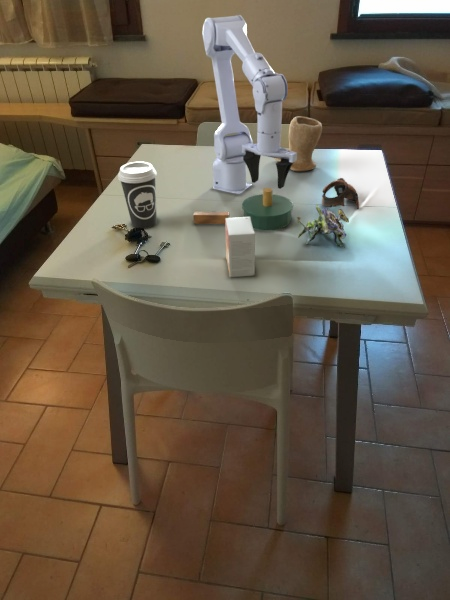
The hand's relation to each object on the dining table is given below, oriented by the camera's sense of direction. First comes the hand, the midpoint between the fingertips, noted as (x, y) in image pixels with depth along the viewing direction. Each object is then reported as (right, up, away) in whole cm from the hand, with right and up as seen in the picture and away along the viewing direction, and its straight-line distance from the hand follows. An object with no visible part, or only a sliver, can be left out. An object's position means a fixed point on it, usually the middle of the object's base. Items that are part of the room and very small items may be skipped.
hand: (267, 184), depth 123 cm
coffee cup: (-32, -10, +3) cm, 34 cm away
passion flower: (+12, -17, -9) cm, 22 cm away
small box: (-8, -23, -16) cm, 28 cm away
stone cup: (+12, +14, +33) cm, 37 cm away
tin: (0, -9, +2) cm, 9 cm away
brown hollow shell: (+20, -4, +8) cm, 22 cm away
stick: (-14, -10, +2) cm, 18 cm away
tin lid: (0, -6, 0) cm, 6 cm away
